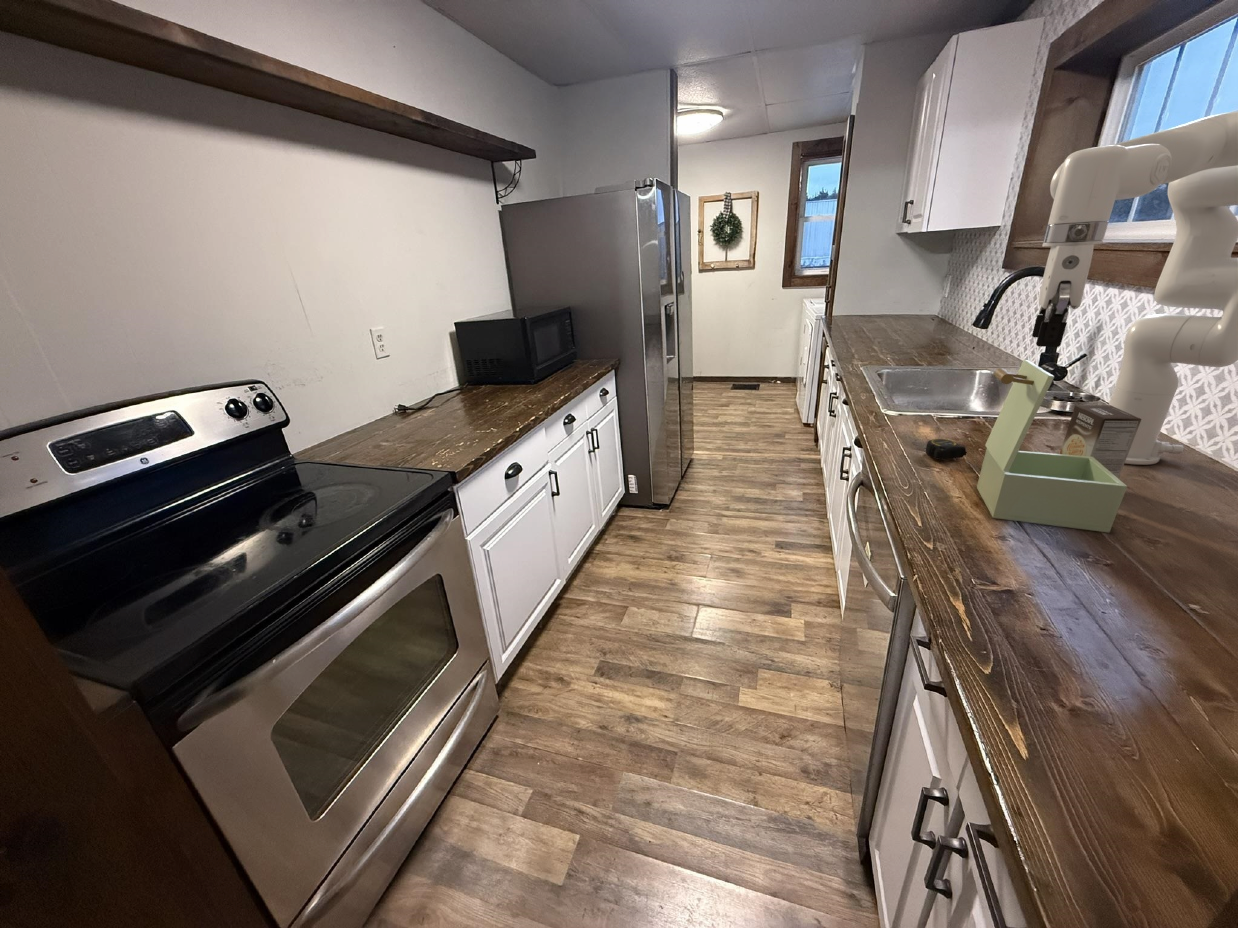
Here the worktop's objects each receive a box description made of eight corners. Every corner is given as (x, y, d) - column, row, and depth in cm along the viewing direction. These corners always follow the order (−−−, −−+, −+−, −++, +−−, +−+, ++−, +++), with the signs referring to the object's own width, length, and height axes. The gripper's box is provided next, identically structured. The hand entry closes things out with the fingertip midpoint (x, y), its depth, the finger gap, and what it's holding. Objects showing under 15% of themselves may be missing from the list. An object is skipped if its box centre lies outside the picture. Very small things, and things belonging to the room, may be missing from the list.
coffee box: (1050, 476, 107) (1072, 404, 101) (1084, 477, 106) (1109, 404, 100) (1076, 494, 99) (1103, 417, 93) (1114, 496, 97) (1144, 418, 91)
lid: (1028, 360, 92) (994, 354, 94) (1054, 376, 81) (1014, 370, 82) (989, 446, 100) (958, 439, 102) (1008, 472, 88) (972, 464, 90)
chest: (1078, 498, 97) (1092, 456, 94) (1109, 532, 86) (1127, 486, 82) (976, 487, 104) (986, 447, 100) (992, 517, 92) (1004, 474, 89)
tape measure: (937, 464, 116) (941, 449, 114) (917, 453, 122) (920, 439, 120) (964, 461, 116) (968, 446, 115) (943, 451, 123) (946, 436, 121)
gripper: (1115, 234, 73) (1080, 351, 79) (1095, 234, 86) (1066, 335, 92) (1049, 237, 77) (1021, 349, 83) (1040, 237, 90) (1016, 333, 96)
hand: (1045, 341), depth 88 cm, fingers open, 9 cm apart
